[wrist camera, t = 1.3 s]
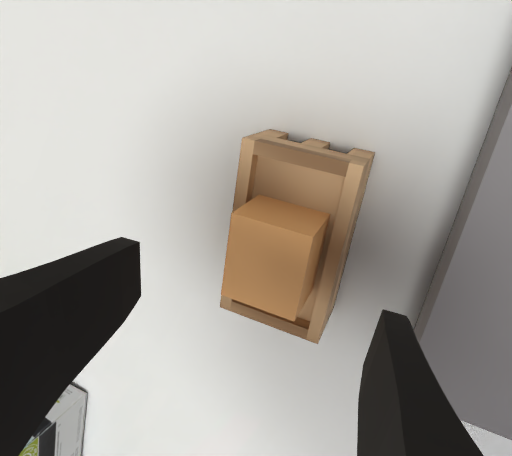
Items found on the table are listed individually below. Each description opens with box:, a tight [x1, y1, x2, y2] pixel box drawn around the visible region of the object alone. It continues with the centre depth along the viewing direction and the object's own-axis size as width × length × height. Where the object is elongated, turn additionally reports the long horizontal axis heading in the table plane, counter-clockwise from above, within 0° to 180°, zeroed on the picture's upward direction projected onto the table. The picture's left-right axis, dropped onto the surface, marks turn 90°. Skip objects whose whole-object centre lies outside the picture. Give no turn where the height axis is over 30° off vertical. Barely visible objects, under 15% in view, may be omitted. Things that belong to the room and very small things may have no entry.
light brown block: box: [221, 195, 330, 321], centre depth 18 cm, size 4×4×3 cm
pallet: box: [220, 129, 375, 344], centre depth 20 cm, size 9×5×4 cm, turn 171°
